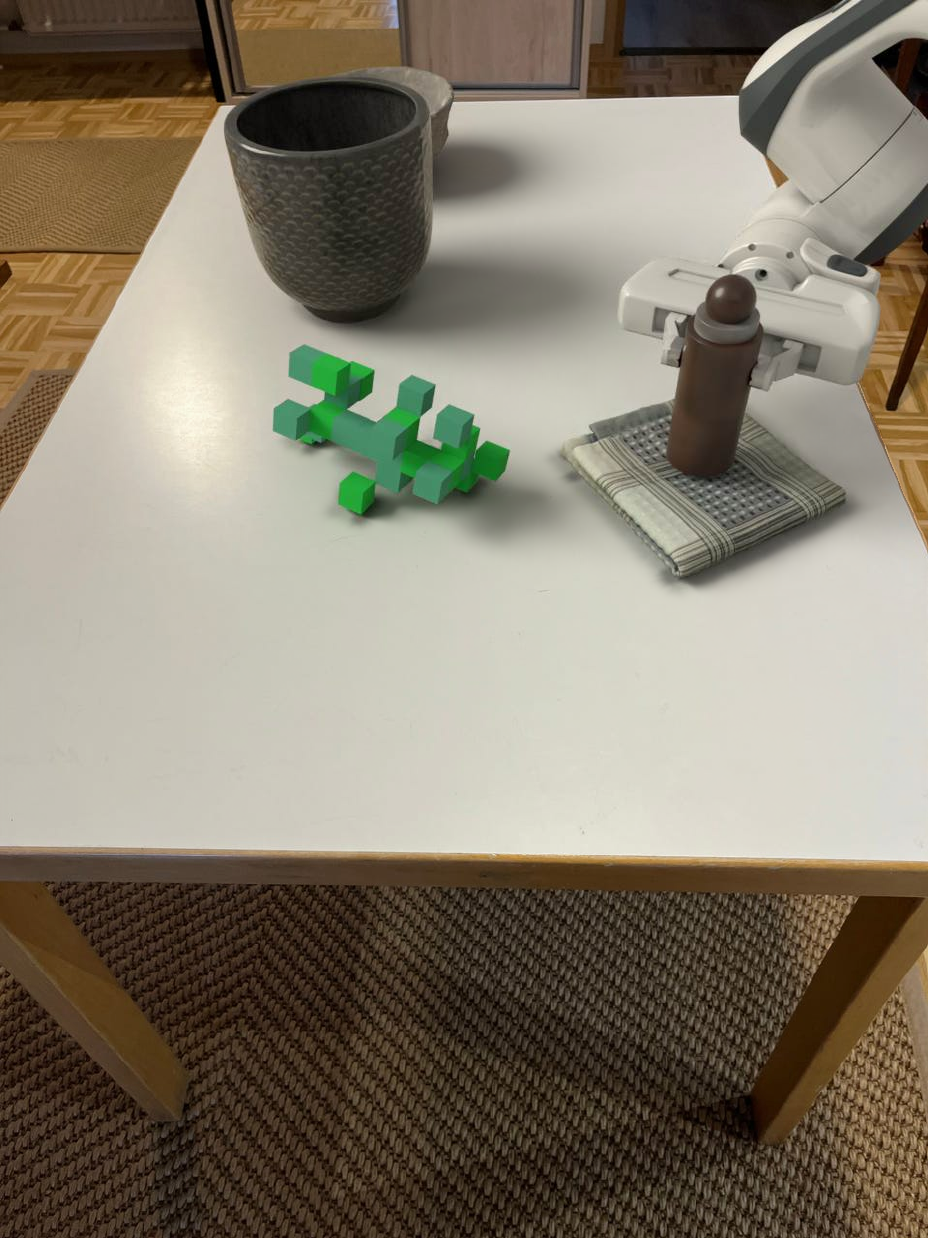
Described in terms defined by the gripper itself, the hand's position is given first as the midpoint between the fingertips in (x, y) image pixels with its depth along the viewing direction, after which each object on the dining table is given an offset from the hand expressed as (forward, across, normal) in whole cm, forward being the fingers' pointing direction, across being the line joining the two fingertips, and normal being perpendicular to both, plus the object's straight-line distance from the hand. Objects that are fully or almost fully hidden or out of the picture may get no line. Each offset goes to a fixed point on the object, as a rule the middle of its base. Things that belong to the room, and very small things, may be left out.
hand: (714, 369), depth 70 cm
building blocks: (+11, -24, +12) cm, 29 cm away
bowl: (-41, -57, +12) cm, 72 cm away
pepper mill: (-1, 0, +9) cm, 9 cm away
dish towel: (-1, 0, +12) cm, 12 cm away
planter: (-14, -44, +12) cm, 47 cm away
